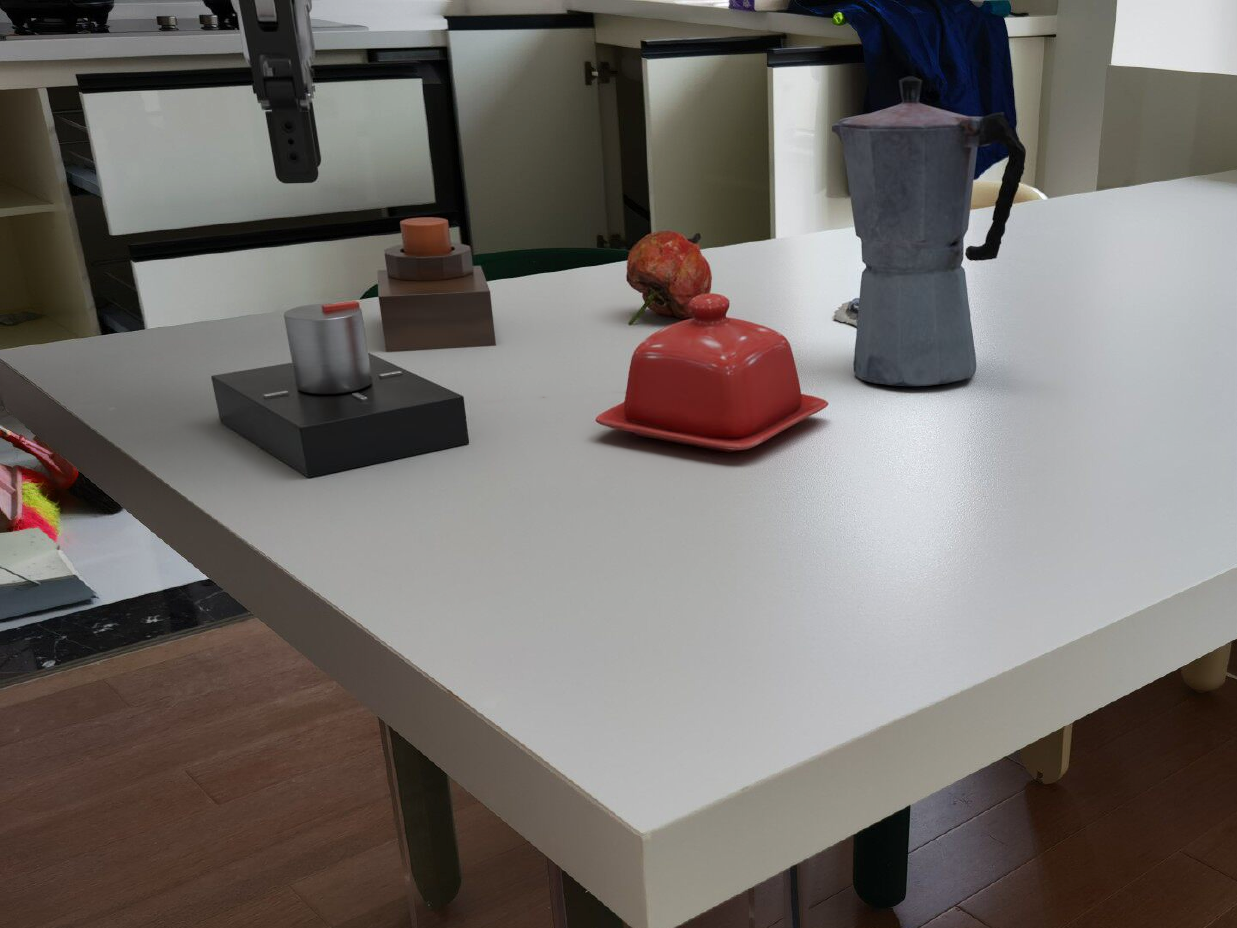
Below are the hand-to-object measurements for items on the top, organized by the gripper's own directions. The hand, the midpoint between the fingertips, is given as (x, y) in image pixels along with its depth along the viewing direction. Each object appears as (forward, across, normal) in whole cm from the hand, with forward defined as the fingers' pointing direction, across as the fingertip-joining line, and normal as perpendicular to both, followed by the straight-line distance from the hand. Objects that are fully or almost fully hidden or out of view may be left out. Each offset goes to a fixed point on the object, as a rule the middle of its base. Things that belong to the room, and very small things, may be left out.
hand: (300, 173), depth 80 cm
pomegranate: (+16, -25, +25) cm, 39 cm away
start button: (+10, -28, +7) cm, 30 cm away
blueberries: (+16, -22, +42) cm, 50 cm away
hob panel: (+15, 0, 0) cm, 15 cm away
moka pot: (+16, -3, +40) cm, 43 cm away
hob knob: (+12, 0, 0) cm, 12 cm away
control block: (+15, -25, +7) cm, 30 cm away
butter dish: (+16, +6, +22) cm, 28 cm away
